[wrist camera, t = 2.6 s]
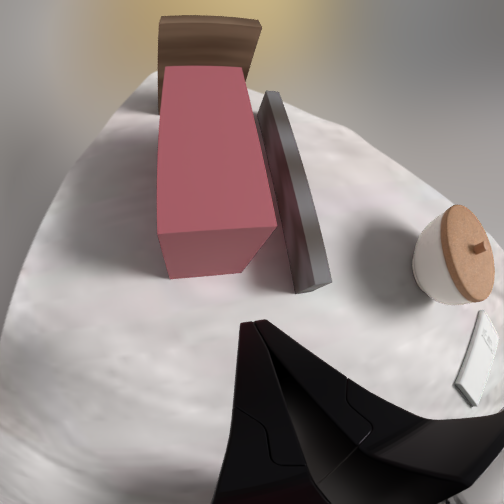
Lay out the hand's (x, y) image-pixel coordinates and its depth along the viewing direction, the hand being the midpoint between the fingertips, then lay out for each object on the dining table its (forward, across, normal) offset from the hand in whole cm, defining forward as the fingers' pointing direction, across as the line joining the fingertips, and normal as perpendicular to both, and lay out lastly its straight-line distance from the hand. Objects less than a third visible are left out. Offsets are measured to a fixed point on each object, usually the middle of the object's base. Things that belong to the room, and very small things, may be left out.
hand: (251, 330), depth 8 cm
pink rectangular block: (+18, 0, +1) cm, 18 cm away
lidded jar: (+12, -26, +8) cm, 30 cm away
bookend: (+20, -2, 0) cm, 20 cm away
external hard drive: (+1, -36, +19) cm, 41 cm away
